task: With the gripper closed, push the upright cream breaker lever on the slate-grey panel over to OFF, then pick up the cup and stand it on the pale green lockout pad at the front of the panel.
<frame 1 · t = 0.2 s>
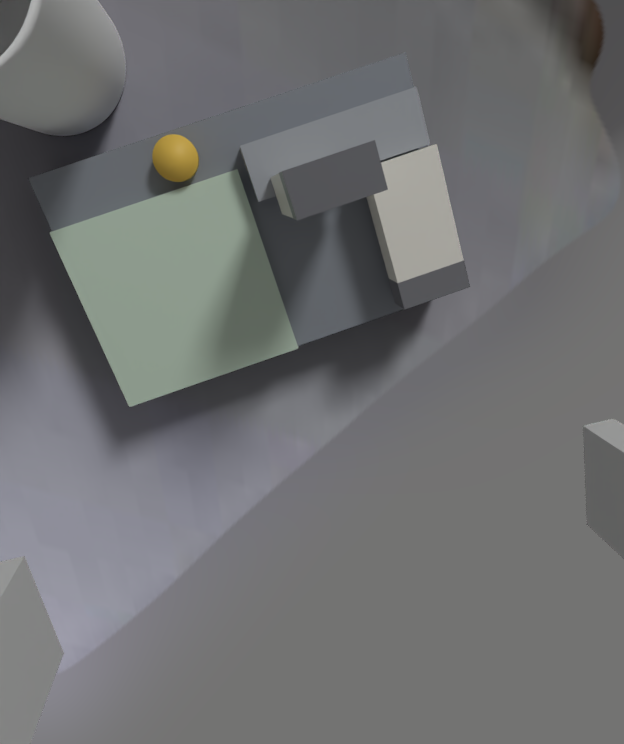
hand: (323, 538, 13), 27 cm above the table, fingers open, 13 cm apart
panel: (257, 233, 38), on the table
lever: (321, 182, 28), point 10 cm above the table, hinge at 0.0°
cup: (54, 60, 34), on the table
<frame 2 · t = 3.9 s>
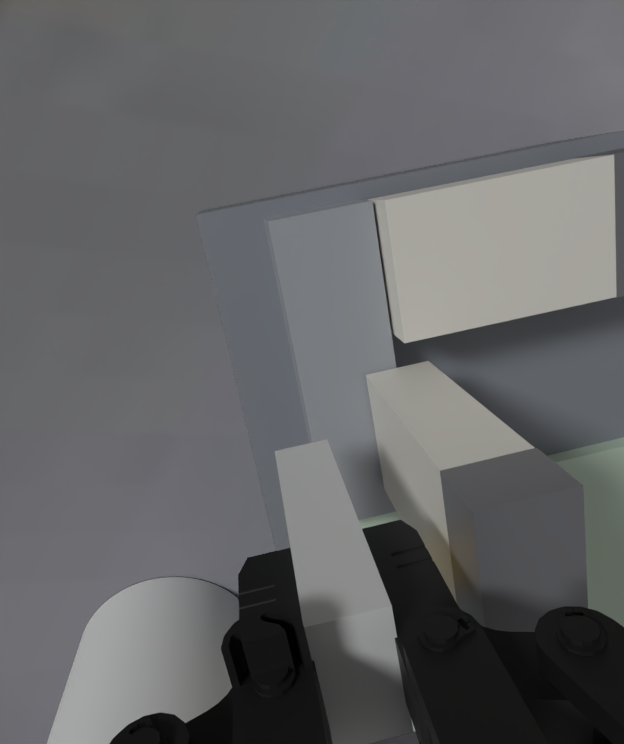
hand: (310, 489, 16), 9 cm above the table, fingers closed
panel: (419, 435, 25), on the table
lever: (453, 488, 14), point 10 cm above the table, hinge at 0.3°, touching gripper
cup: (172, 648, 27), on the table
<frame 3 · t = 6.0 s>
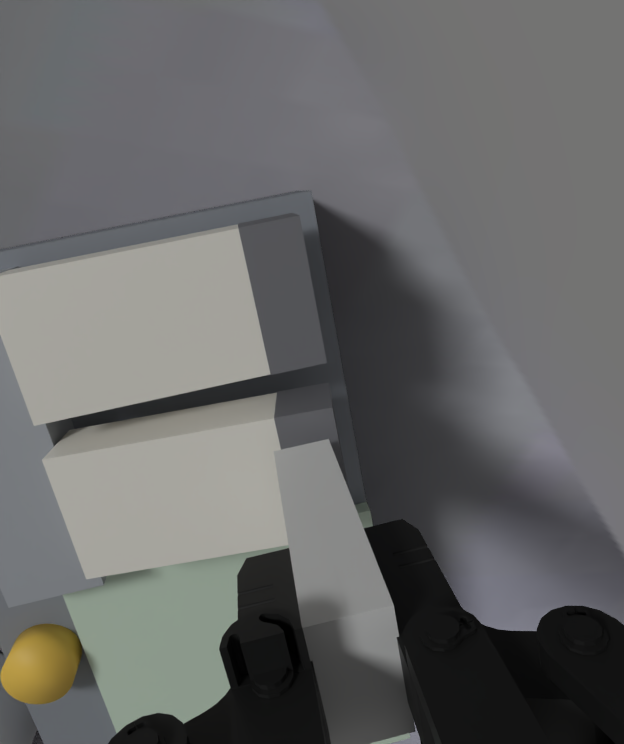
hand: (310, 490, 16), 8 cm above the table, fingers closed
panel: (184, 491, 24), on the table
lever: (208, 480, 17), point 6 cm above the table, hinge at 83.4°
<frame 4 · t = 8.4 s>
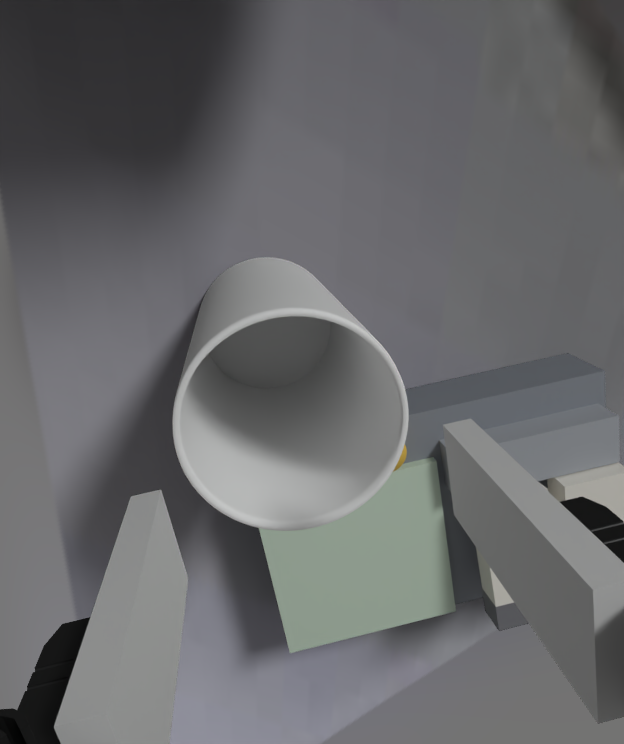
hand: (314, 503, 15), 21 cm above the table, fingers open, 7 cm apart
panel: (420, 483, 40), on the table
lever: (515, 552, 34), point 6 cm above the table, hinge at 83.4°
cup: (266, 325, 35), on the table
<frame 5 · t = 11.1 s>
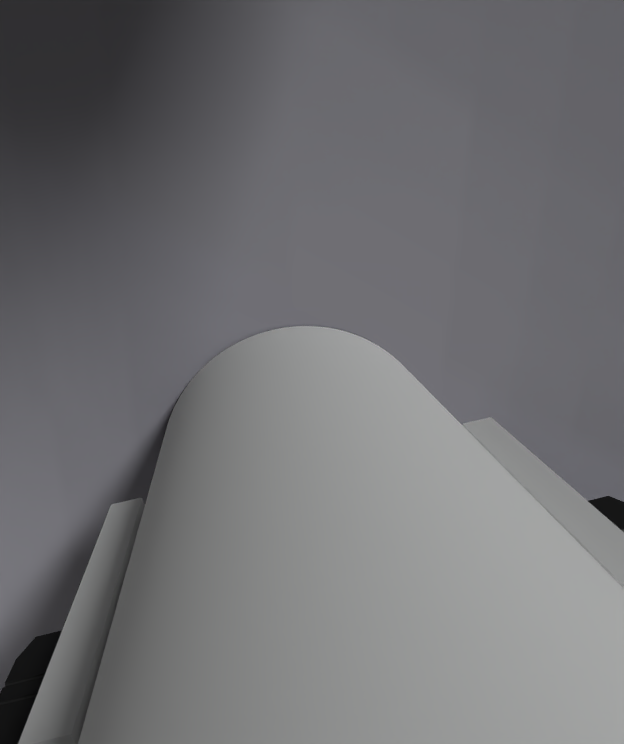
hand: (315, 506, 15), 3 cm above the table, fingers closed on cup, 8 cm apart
cup: (301, 455, 18), on the table, touching gripper
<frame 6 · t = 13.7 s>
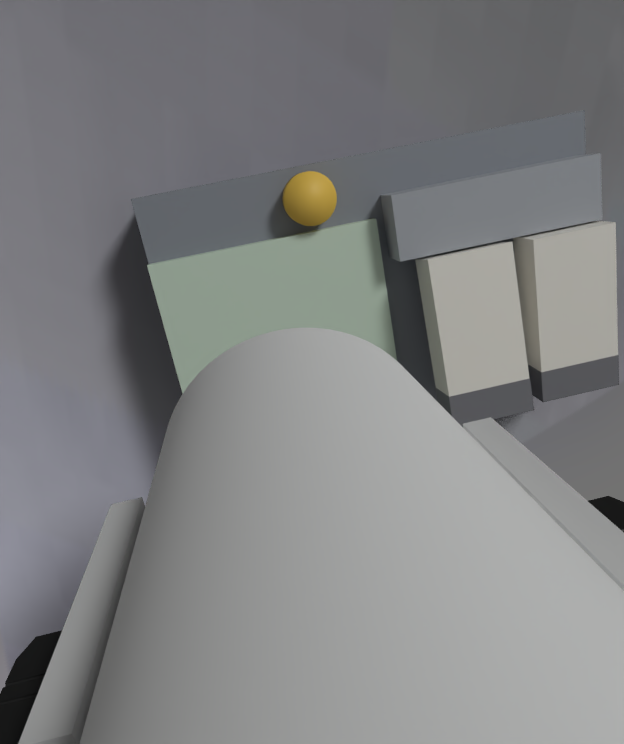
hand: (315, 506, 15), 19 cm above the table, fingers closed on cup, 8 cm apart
panel: (367, 285, 33), on the table
lever: (474, 334, 28), point 6 cm above the table, hinge at 83.4°
cup: (301, 457, 18), point 16 cm above the table, touching gripper
when the fingers open (8 cm above the table, at t = 16.2 s): cup stays where it is, resting on panel.
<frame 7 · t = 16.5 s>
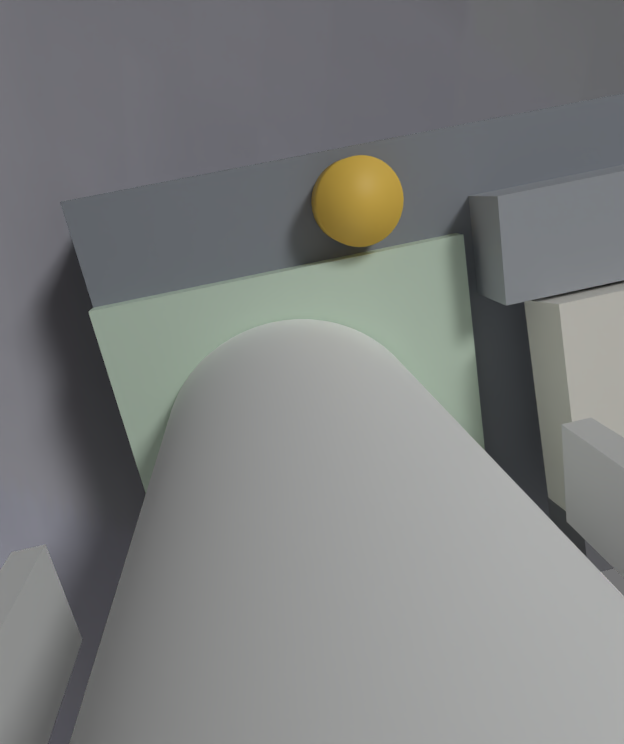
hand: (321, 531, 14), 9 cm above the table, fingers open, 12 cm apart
panel: (429, 329, 23), on the table
lever: (619, 420, 17), point 6 cm above the table, hinge at 83.4°
cup: (298, 443, 18), point 4 cm above the table, touching panel
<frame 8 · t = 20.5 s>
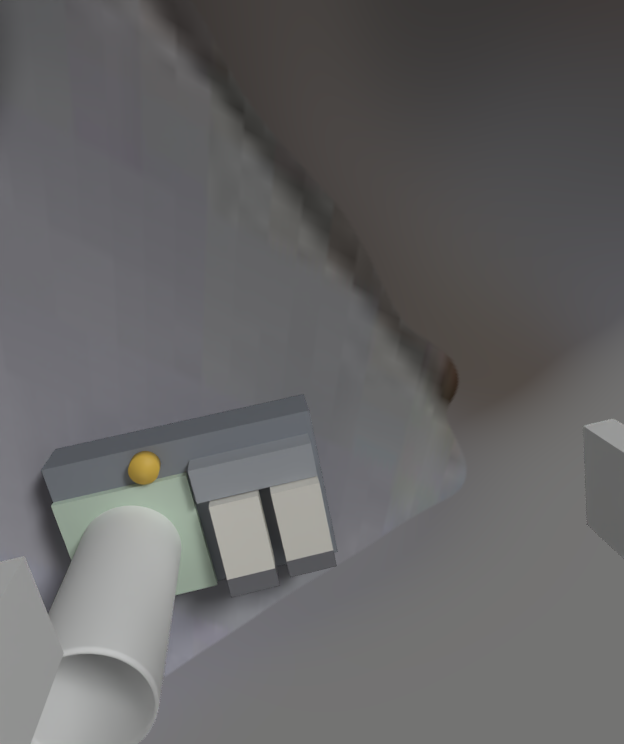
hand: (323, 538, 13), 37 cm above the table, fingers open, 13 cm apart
panel: (200, 490, 53), on the table
lever: (244, 541, 48), point 6 cm above the table, hinge at 83.4°
cup: (132, 547, 49), point 4 cm above the table, touching panel
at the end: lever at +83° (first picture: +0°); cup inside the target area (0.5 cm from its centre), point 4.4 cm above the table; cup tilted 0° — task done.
